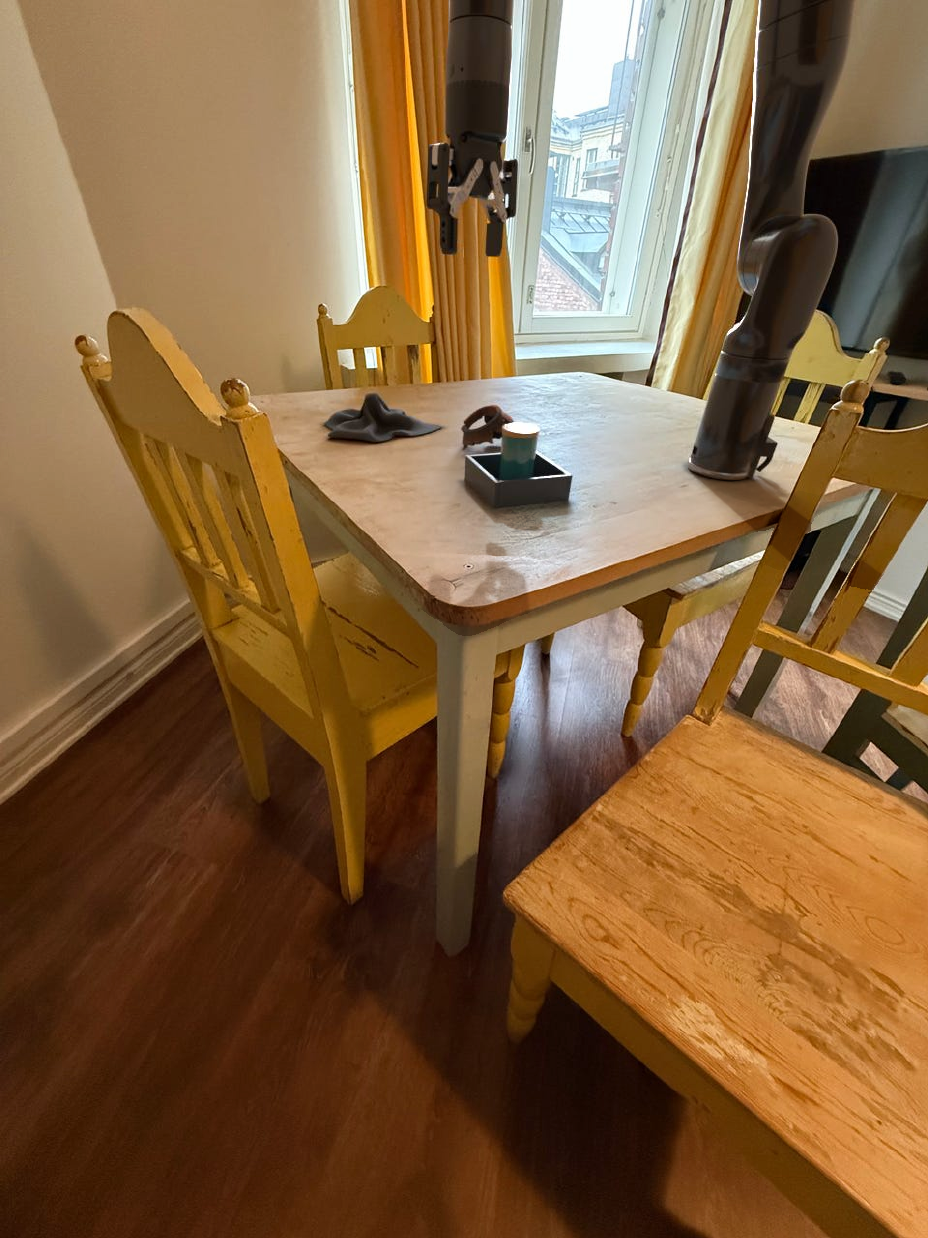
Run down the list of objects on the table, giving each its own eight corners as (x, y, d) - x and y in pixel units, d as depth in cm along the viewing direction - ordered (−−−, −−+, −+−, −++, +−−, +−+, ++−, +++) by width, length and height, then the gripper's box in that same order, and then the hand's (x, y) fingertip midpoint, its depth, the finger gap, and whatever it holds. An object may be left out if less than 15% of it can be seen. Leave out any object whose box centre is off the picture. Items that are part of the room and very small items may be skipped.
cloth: (334, 447, 88) (330, 408, 84) (312, 419, 101) (307, 385, 98) (454, 435, 96) (455, 400, 92) (418, 411, 110) (418, 380, 106)
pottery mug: (525, 463, 86) (506, 420, 81) (473, 481, 90) (452, 442, 84) (525, 425, 94) (507, 384, 88) (478, 444, 97) (458, 405, 92)
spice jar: (531, 483, 76) (538, 423, 71) (533, 496, 72) (541, 433, 67) (496, 482, 76) (501, 421, 71) (497, 494, 72) (502, 431, 67)
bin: (532, 475, 80) (535, 449, 78) (568, 503, 71) (572, 475, 69) (464, 482, 76) (465, 455, 74) (493, 512, 68) (495, 482, 66)
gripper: (458, 63, 54) (454, 254, 63) (541, 93, 62) (526, 258, 72) (410, 75, 58) (413, 253, 67) (494, 102, 66) (486, 256, 76)
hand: (471, 255), depth 69 cm, fingers open, 8 cm apart
